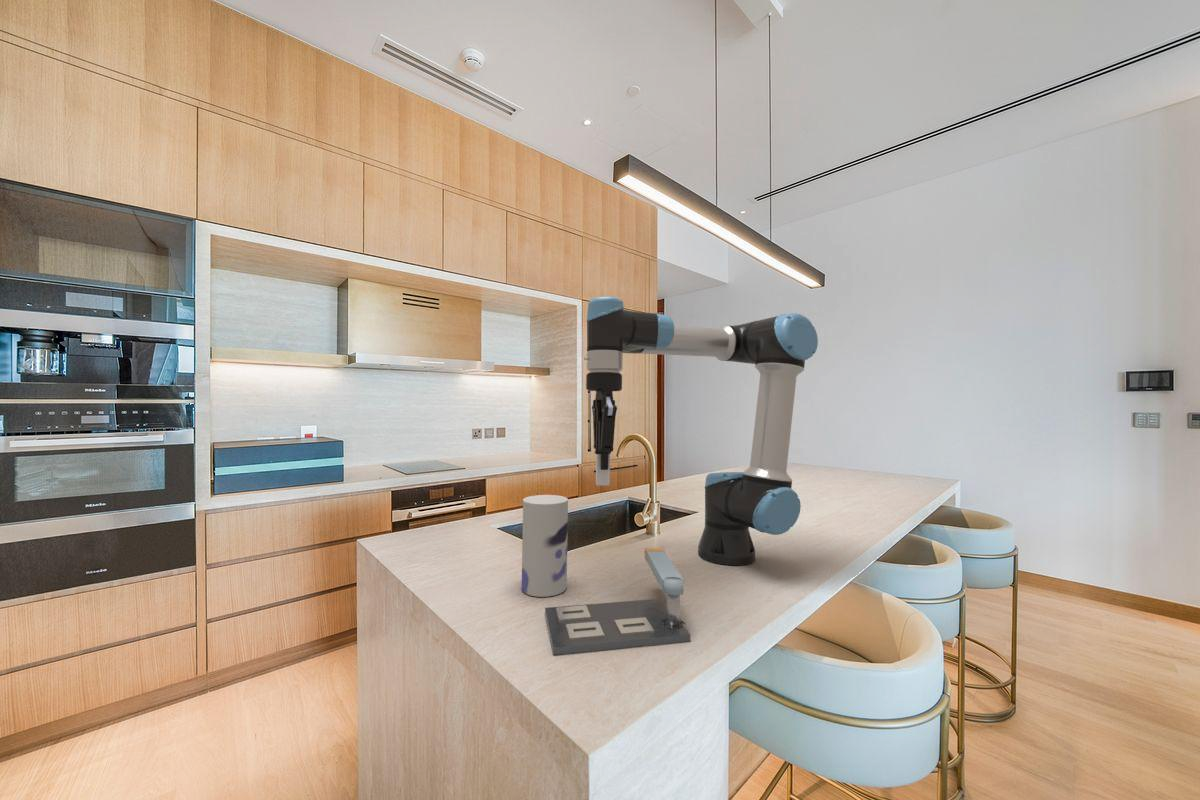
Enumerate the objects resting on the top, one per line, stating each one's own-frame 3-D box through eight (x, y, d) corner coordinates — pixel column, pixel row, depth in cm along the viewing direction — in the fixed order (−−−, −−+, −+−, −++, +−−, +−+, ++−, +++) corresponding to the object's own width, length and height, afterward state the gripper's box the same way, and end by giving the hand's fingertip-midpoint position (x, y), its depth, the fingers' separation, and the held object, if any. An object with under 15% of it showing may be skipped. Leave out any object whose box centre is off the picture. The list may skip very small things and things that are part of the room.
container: (559, 599, 96) (560, 504, 96) (514, 595, 98) (516, 501, 98) (571, 581, 106) (573, 495, 106) (530, 577, 108) (532, 493, 108)
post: (679, 622, 86) (680, 588, 86) (688, 634, 82) (689, 597, 82) (657, 625, 85) (658, 589, 85) (665, 636, 81) (666, 599, 81)
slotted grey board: (661, 604, 94) (661, 596, 94) (690, 641, 80) (690, 632, 80) (544, 613, 89) (545, 605, 89) (553, 655, 75) (553, 645, 75)
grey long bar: (687, 595, 82) (687, 583, 82) (664, 596, 82) (664, 583, 82) (662, 557, 103) (662, 547, 103) (644, 557, 102) (644, 547, 102)
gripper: (581, 373, 101) (579, 480, 101) (592, 369, 88) (591, 491, 88) (614, 374, 103) (612, 479, 103) (630, 370, 90) (628, 490, 90)
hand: (602, 484), depth 95 cm, fingers closed
